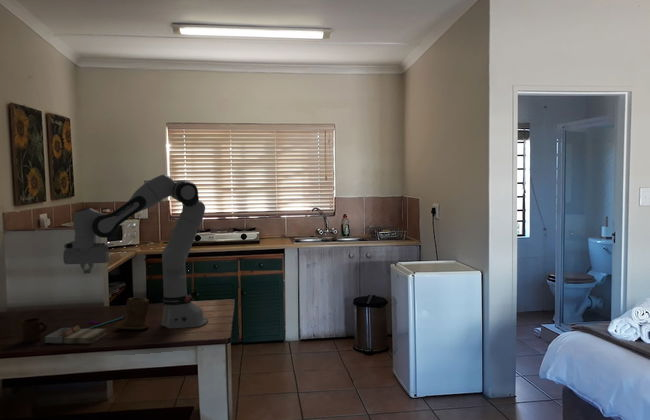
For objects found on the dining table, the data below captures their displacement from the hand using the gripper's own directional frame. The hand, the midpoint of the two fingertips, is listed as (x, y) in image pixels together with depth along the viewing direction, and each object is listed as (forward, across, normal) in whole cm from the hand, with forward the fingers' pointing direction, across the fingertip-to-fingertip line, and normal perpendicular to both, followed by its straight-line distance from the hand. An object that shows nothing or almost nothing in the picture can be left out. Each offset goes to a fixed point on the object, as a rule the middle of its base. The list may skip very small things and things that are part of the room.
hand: (87, 273), depth 236 cm
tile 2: (+27, +8, +8) cm, 29 cm away
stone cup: (+30, -16, -10) cm, 35 cm away
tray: (+29, +11, +5) cm, 31 cm away
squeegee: (+30, +8, -18) cm, 36 cm away
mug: (+29, +22, +8) cm, 37 cm away
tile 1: (+27, +8, +2) cm, 28 cm away
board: (+29, 0, +5) cm, 30 cm away
